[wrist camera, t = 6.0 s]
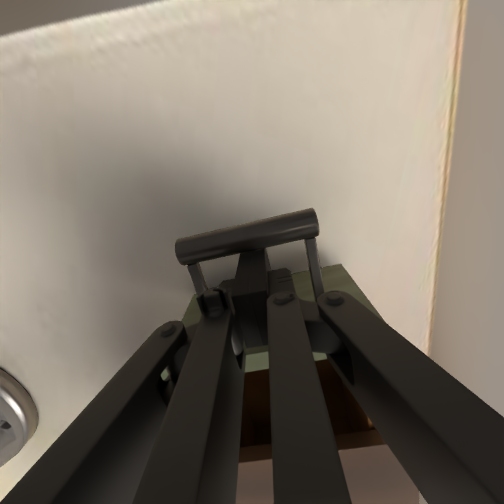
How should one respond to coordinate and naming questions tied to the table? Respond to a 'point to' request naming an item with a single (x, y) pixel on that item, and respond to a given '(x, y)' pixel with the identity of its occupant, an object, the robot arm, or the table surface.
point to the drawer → (307, 288)
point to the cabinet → (354, 466)
